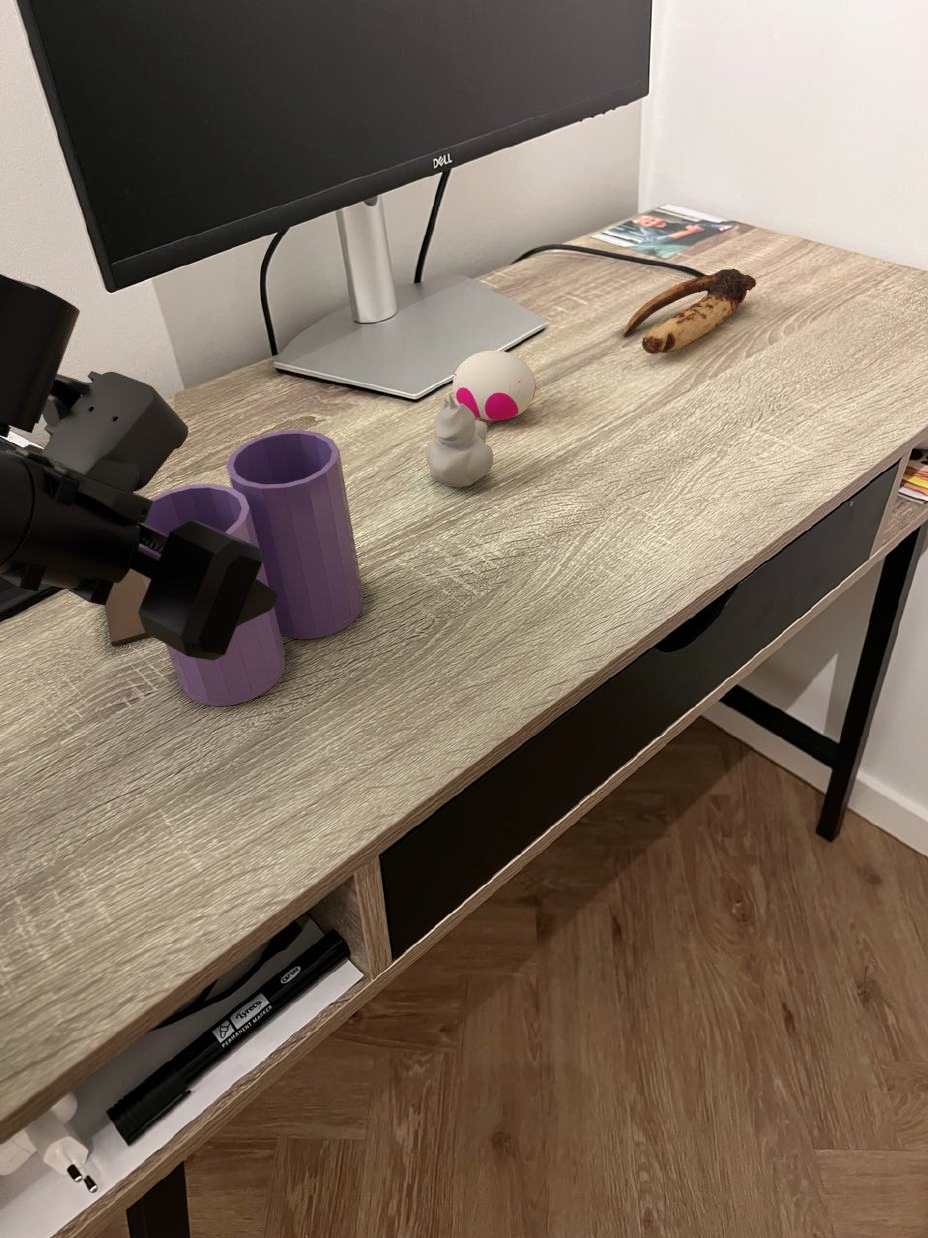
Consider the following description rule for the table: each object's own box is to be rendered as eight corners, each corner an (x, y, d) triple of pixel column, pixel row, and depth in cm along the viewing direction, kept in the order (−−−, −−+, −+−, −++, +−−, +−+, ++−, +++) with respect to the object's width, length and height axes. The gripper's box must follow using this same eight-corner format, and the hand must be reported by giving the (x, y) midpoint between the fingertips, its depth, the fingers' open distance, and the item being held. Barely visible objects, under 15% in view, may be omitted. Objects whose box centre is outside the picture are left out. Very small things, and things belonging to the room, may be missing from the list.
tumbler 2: (277, 651, 65) (238, 498, 57) (255, 592, 70) (217, 445, 62) (375, 622, 67) (351, 470, 59) (347, 567, 72) (322, 420, 64)
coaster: (112, 646, 66) (110, 642, 66) (100, 578, 72) (99, 574, 72) (234, 612, 68) (232, 608, 68) (213, 548, 74) (211, 544, 74)
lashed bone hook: (686, 294, 107) (592, 352, 96) (689, 251, 104) (593, 305, 93) (765, 310, 101) (675, 372, 91) (771, 264, 99) (678, 322, 88)
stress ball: (453, 450, 90) (427, 415, 84) (479, 373, 91) (455, 333, 85) (529, 461, 87) (507, 426, 81) (554, 382, 88) (535, 341, 82)
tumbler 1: (188, 719, 60) (134, 564, 53) (172, 651, 65) (120, 501, 58) (296, 686, 62) (259, 531, 54) (272, 623, 67) (235, 472, 59)
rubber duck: (413, 489, 79) (402, 399, 74) (456, 451, 83) (449, 363, 78) (469, 505, 77) (463, 414, 72) (511, 465, 81) (508, 376, 76)
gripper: (183, 401, 41) (385, 497, 55) (-49, 313, 51) (172, 414, 64) (87, 643, 42) (310, 679, 55) (-125, 512, 51) (110, 571, 65)
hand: (221, 574), depth 60 cm, fingers open, 9 cm apart
